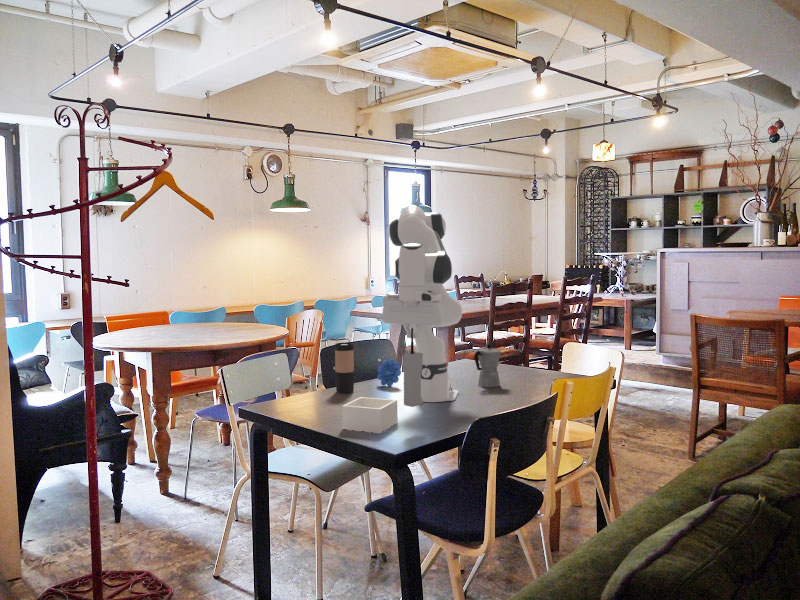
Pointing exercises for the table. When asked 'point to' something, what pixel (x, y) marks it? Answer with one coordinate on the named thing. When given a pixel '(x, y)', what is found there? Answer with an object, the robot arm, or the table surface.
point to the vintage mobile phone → (412, 377)
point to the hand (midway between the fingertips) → (412, 338)
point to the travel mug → (344, 367)
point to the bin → (369, 414)
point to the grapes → (389, 372)
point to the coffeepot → (488, 366)
